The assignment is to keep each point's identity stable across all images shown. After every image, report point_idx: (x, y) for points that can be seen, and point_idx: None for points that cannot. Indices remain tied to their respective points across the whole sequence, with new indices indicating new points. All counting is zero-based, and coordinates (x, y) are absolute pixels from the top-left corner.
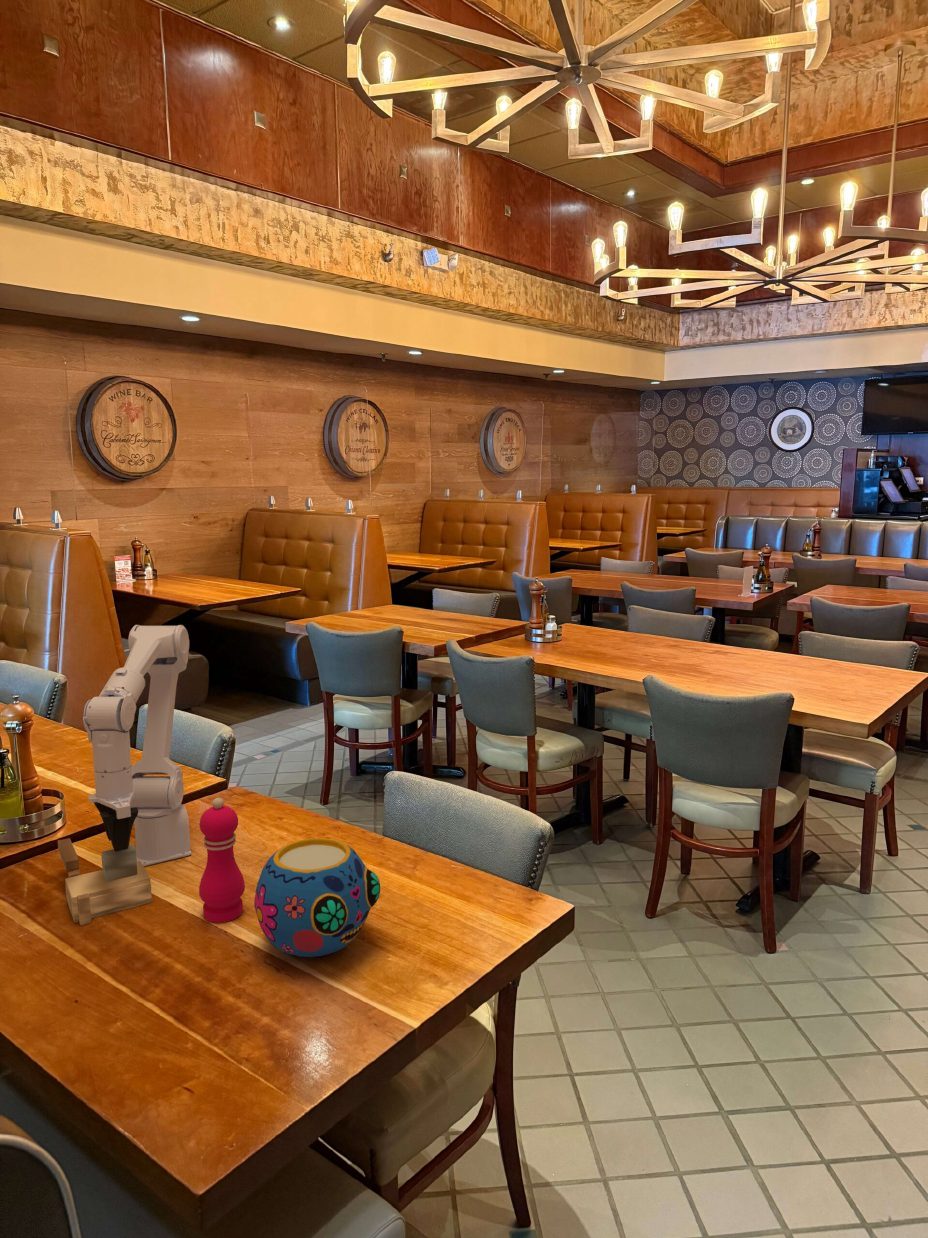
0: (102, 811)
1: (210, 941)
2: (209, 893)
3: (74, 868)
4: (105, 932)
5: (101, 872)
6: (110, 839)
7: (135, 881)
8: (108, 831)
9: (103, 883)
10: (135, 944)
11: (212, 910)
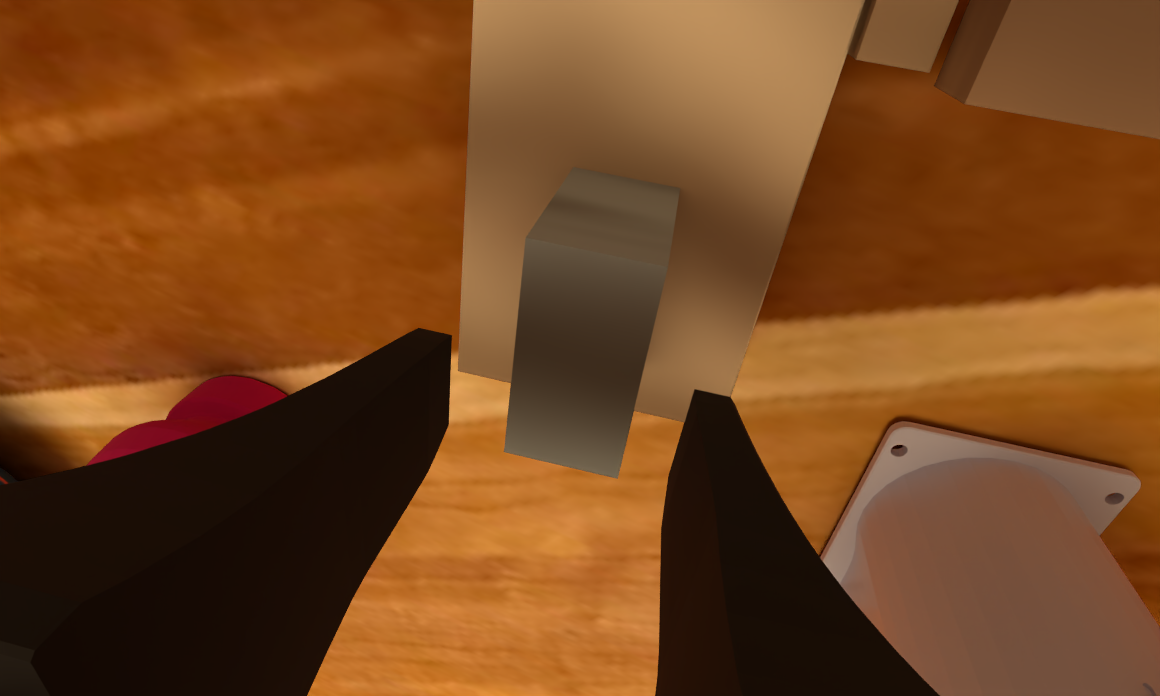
0: (724, 681)
1: (83, 316)
2: (97, 457)
3: (955, 44)
4: (326, 5)
5: (750, 202)
6: (689, 406)
7: (464, 302)
8: (694, 457)
9: (565, 147)
10: (152, 85)
11: (184, 413)
